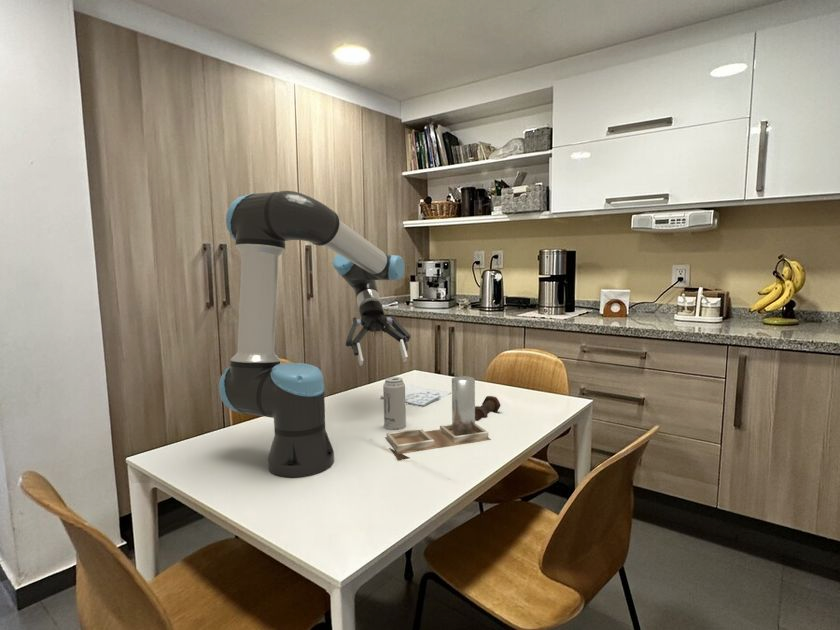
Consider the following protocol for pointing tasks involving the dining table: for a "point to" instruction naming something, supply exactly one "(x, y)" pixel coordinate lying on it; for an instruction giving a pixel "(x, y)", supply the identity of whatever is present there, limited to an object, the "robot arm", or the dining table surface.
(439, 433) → the tray
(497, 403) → the bolt
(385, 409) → the energy drink can
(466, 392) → the cylinder
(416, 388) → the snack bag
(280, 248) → the robot arm
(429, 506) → the dining table surface
